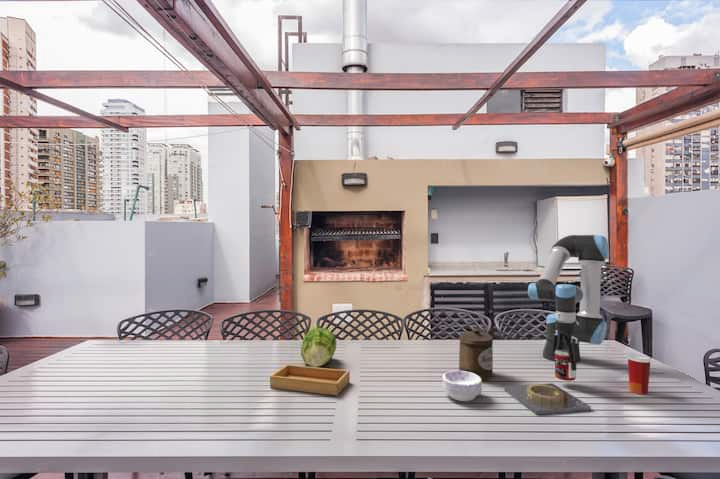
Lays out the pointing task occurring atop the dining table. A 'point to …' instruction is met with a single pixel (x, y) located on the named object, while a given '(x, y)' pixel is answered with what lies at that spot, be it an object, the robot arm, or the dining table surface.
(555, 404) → the collar plate
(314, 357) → the lettuce
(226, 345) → the dining table surface
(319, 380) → the tray
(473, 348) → the wooden container
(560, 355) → the canned food
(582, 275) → the robot arm
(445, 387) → the paper bowls
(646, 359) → the coffee cup
